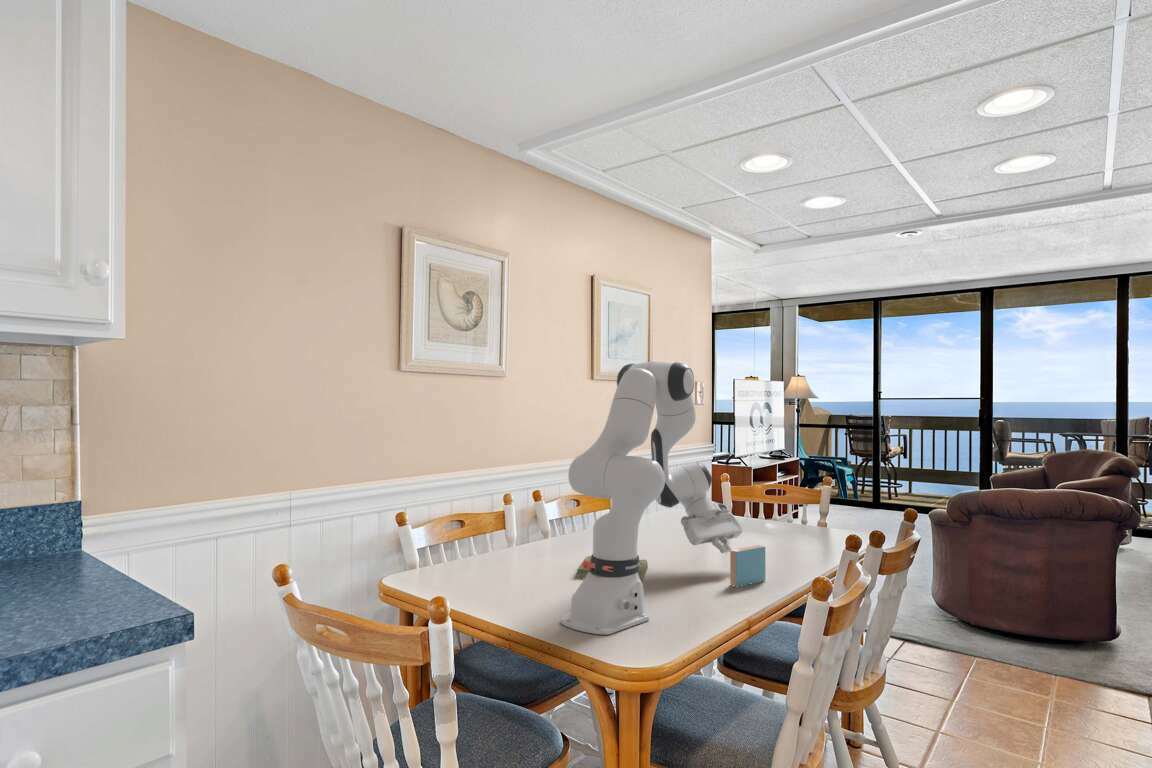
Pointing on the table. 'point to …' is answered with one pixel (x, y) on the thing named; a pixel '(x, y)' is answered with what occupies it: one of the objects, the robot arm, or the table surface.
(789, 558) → the table surface
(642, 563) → the decorative tile
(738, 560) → the glazed tile
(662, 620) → the table surface
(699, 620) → the table surface
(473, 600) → the table surface
